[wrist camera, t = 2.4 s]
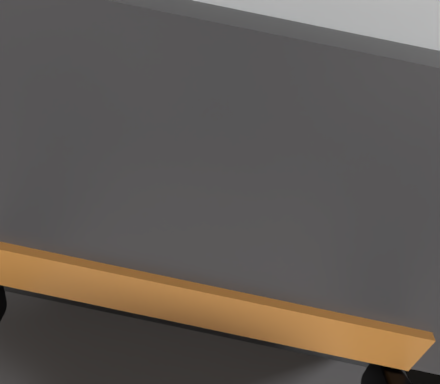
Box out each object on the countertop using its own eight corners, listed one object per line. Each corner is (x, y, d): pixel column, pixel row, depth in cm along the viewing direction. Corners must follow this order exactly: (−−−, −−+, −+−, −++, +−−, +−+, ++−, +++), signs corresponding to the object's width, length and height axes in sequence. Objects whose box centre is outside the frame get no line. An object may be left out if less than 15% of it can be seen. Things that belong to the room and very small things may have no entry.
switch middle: (647, 93, 6) (724, 130, 5) (430, 336, 9) (448, 384, 8) (-152, -70, 6) (-241, -67, 5) (-41, 237, 9) (-78, 273, 8)
